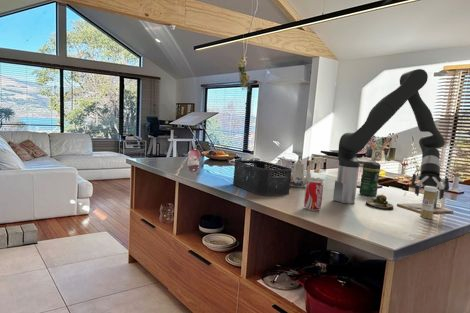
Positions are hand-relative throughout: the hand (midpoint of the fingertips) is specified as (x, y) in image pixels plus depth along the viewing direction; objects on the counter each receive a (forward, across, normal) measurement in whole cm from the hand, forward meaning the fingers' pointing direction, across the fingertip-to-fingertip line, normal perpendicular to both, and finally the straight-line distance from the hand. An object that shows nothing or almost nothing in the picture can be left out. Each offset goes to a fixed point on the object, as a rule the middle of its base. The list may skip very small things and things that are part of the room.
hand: (429, 196), depth 140 cm
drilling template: (-5, 0, +18) cm, 19 cm away
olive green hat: (+4, -19, +10) cm, 21 cm away
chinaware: (-13, -63, +26) cm, 70 cm away
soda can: (+25, -44, -12) cm, 51 cm away
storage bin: (+9, -76, +4) cm, 77 cm away
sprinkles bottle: (+8, 0, +5) cm, 9 cm away
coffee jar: (-16, -26, +29) cm, 42 cm away
